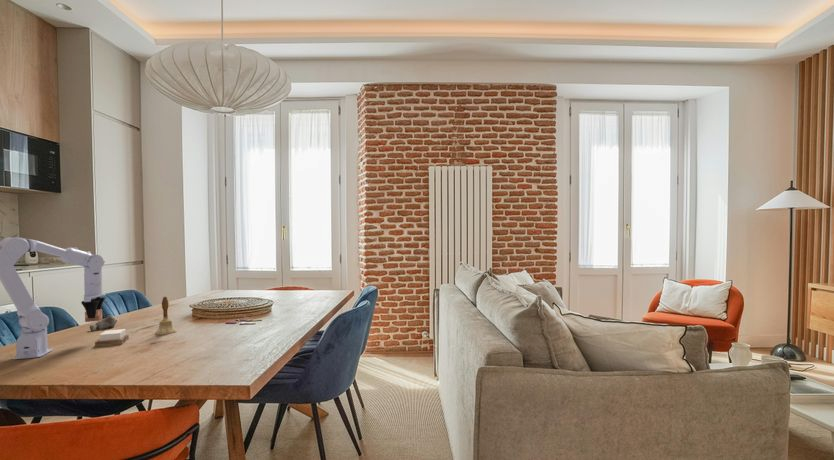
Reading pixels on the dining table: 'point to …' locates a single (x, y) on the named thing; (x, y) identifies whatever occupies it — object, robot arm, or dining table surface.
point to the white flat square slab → (112, 334)
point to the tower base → (112, 342)
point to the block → (97, 317)
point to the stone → (104, 323)
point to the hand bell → (165, 321)
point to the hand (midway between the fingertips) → (93, 316)
